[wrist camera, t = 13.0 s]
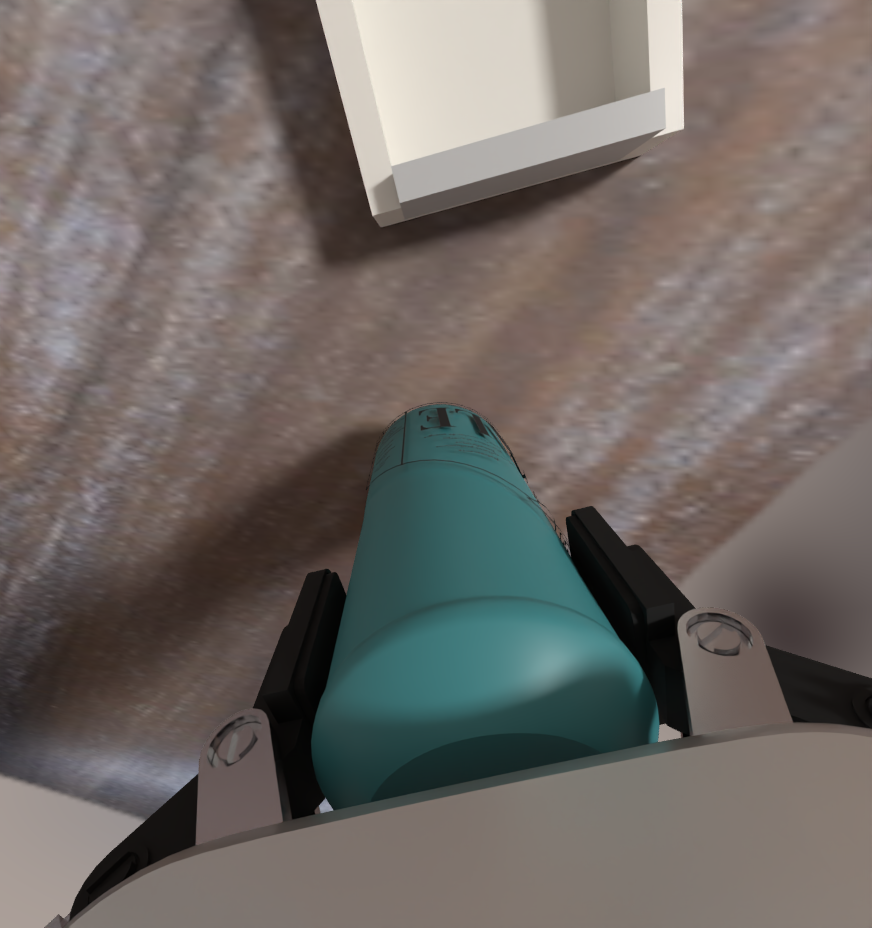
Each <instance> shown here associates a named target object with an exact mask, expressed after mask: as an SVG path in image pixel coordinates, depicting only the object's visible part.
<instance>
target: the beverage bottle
mask: <svg viewBox="0 0 872 928" xmlns="http://www.w3.org/2000/svg"><path fill="white" fill-rule="evenodd" d="M437 403H442V402H437ZM429 404H432V403H429ZM451 404H454V403H451ZM424 405H426V404H424ZM457 405H458V404H457ZM420 406H422V405H420ZM461 406H462V405H461ZM417 407H418V406H417ZM415 408H416V407H415ZM467 408H468V407H467ZM412 409H413V408H412ZM470 409H471V408H470ZM472 410H473V409H472ZM408 411H409V410H408ZM474 411H475V410H474ZM476 412H477V411H476ZM404 413H405V415H403V416H402V417H401V418H399V419H398V420H397V421H394V420H395V419H394V420H393V421H394V424H391V427H390V428H389V427H388V428H389V429H388V430H386V431H387V432H386V431H385V432H386V433H385V435H384V436H383V438H381V439H382V440H381V442H380V441H379V442H380V444H379V447H378V450H377V452H376V453H375V454H376V458H375V457H374V458H375V463H374V467H373V472H372V477H371V482H370V485H369V486H370V487H369V486H368V487H369V492H368V497H367V501H366V506H365V513H364V520H363V525H362V529H361V534H360V538H359V543H358V547H357V551H356V556H355V560H354V565H353V569H352V574H351V578H350V583H349V587H348V591H347V596H346V600H345V605H344V609H343V614H342V618H341V623H340V627H339V631H338V636H337V640H336V645H335V649H334V654H333V658H332V663H331V667H330V672H329V676H328V680H327V685H326V689H325V691H324V693H323V695H322V697H321V699H320V703H319V706H318V709H317V712H316V716H315V721H314V725H313V732H312V739H311V749H312V761H313V766H314V771H315V775H316V779H317V781H318V784H319V786H320V788H321V790H322V792H323V794H324V796H325V797H326V799H327V801H328V802H329V804H330V805H331V807H332V808H333V810H339V809H343V808H348V807H352V806H357V805H362V804H366V803H371V802H375V801H380V800H384V799H389V798H394V797H398V796H403V795H407V794H412V793H417V792H422V791H426V790H431V789H436V788H440V787H445V786H450V785H454V784H459V783H464V782H469V781H473V780H478V779H483V778H487V777H492V776H497V775H502V774H506V773H511V772H516V771H521V770H525V769H530V768H535V767H540V766H545V765H549V764H554V763H559V762H564V761H569V760H574V759H579V758H584V757H588V756H593V755H598V754H603V753H608V752H613V751H618V750H623V749H627V748H632V747H637V746H642V745H647V744H652V743H657V742H658V735H659V715H658V708H657V703H656V699H655V695H654V692H653V689H652V686H651V684H650V682H649V680H648V678H647V677H646V675H645V673H644V671H643V669H642V668H641V666H640V664H639V662H638V661H637V660H636V658H635V657H634V656H633V655H632V653H631V652H630V651H629V649H628V648H627V647H626V646H625V645H624V643H623V642H622V641H621V640H620V639H619V637H618V636H617V634H616V632H615V631H614V629H613V628H612V626H611V624H610V623H609V621H608V619H607V618H606V616H605V615H604V613H603V611H602V610H601V608H600V606H599V605H598V603H597V601H596V600H595V599H596V598H594V597H593V595H592V593H591V592H590V590H589V588H588V587H587V585H586V583H585V582H584V580H583V578H582V577H581V575H580V573H579V572H578V570H577V568H578V569H579V570H580V572H581V573H582V574H583V576H584V577H585V574H584V572H583V571H582V569H581V567H580V565H579V563H578V561H577V560H576V562H575V564H576V566H577V567H576V566H575V564H574V562H573V558H572V559H571V557H570V553H568V552H569V551H568V549H567V550H566V547H565V546H564V545H566V541H567V540H566V541H565V540H564V542H565V544H564V542H563V543H562V541H561V540H560V539H561V535H562V534H561V533H560V538H559V536H558V535H557V533H556V526H557V525H556V524H555V523H554V522H555V520H554V522H553V521H552V522H553V523H554V524H555V530H554V528H553V527H552V525H551V523H550V522H549V520H548V518H547V517H546V515H547V514H546V513H545V512H544V511H543V510H542V509H541V507H540V505H539V503H540V502H539V501H538V500H536V499H535V495H533V494H532V492H531V491H530V489H529V487H528V486H527V484H526V482H525V481H524V479H523V478H526V476H525V474H524V475H522V474H521V472H520V470H519V467H518V465H517V463H516V461H515V459H514V457H513V456H514V455H513V454H512V452H511V450H509V449H510V448H509V447H507V446H508V445H506V444H505V443H506V442H504V441H503V439H502V437H501V436H500V435H499V434H498V433H497V431H498V430H497V431H496V430H495V429H494V427H493V426H492V425H491V424H489V423H488V422H487V421H485V420H484V419H482V418H481V417H480V416H481V415H482V414H481V415H480V416H478V415H479V414H478V415H477V413H476V414H475V413H473V412H471V410H467V409H466V408H462V407H458V406H454V405H446V404H436V405H428V406H424V407H420V408H417V409H415V410H412V411H410V412H409V413H407V411H406V412H404ZM402 414H403V413H402ZM402 414H401V415H402ZM398 417H399V416H398ZM482 417H483V416H482ZM485 418H486V417H485ZM486 420H487V419H486ZM393 421H392V422H393ZM392 422H391V423H392ZM386 428H387V427H386ZM495 428H496V427H495ZM494 431H495V432H494ZM382 433H383V432H382ZM383 434H384V433H383ZM496 434H497V435H498V436H499V438H500V439H501V440H502V442H503V443H504V444H505V446H506V448H508V450H509V451H510V453H511V457H512V458H513V460H514V462H515V464H516V466H517V468H516V466H515V464H514V463H513V461H512V459H511V458H510V456H509V455H508V453H507V451H506V450H505V448H504V446H503V445H502V443H501V441H500V440H499V438H498V437H497V435H496ZM377 442H378V441H377ZM376 447H377V445H376ZM375 451H376V449H375ZM510 453H509V454H510ZM375 454H374V455H375ZM374 458H373V459H374ZM372 463H373V462H372ZM371 467H372V466H371ZM370 472H371V471H370ZM523 472H524V471H523ZM369 476H370V475H369ZM368 480H369V479H368ZM526 480H527V479H526ZM527 483H528V482H527ZM367 484H368V483H367ZM366 490H367V487H366ZM533 493H534V491H533ZM534 494H535V493H534ZM536 498H537V497H536ZM540 504H541V503H540ZM542 505H543V504H542ZM543 506H544V505H543ZM544 507H545V506H544ZM549 512H550V511H549ZM550 513H551V512H550ZM545 514H546V515H545ZM547 516H548V515H547ZM548 517H549V516H548ZM549 518H550V517H549ZM557 527H558V526H557ZM558 528H559V527H558ZM560 531H561V530H560ZM561 532H562V531H561ZM563 535H564V534H563ZM562 537H563V536H562ZM563 539H564V538H563ZM566 539H567V538H566ZM567 542H569V541H567ZM569 543H570V542H569ZM567 545H569V544H567ZM571 546H572V545H571ZM568 547H569V546H568ZM569 549H570V548H569ZM570 552H571V550H570ZM573 555H574V554H573ZM571 556H572V554H571ZM574 558H575V556H574ZM575 559H576V558H575ZM577 563H578V564H577ZM578 565H579V567H580V568H579V567H578ZM584 570H585V569H584ZM585 572H586V571H585ZM585 579H586V577H585ZM588 579H589V578H588ZM589 581H590V580H589ZM590 584H591V583H590ZM591 587H592V586H591ZM592 590H593V589H592ZM593 593H594V592H593ZM594 596H595V595H594Z"/></svg>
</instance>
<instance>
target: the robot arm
mask: <svg viewBox="0 0 872 928" xmlns="http://www.w3.org/2000/svg"><path fill="white" fill-rule="evenodd" d="M571 515H572V516H569V517H566V525H567V532H568V539H569V542H570V543H569V546H570V550H571V552H570V553H571V554H572V556H571V559H572V558H573V562H574V564H575V562H576V560H577V561H578V563H579V565H580V567H581V569H582V571H583V572H584V574H585V577H586V579H585V577H584V576H583V574H582V573H581V572H580V570H579V569H578V568H577V570H578V572H579V573H580V575H581V577H582V578H583V580H584V582H585V583H586V585H587V587H588V588H589V590H590V592H591V593H592V595H593V597H594V598H596V599H595V600H596V601H597V603H598V605H599V606H600V608H601V610H602V611H603V613H604V615H605V616H606V618H607V619H608V621H609V623H610V624H611V626H612V628H613V629H614V631H615V632H616V634H617V636H618V637H619V639H620V640H621V641H622V642H623V643H624V645H625V646H626V647H627V648H628V649H629V651H630V652H631V653H632V655H633V656H634V657H635V658H636V660H637V661H638V662H639V664H640V666H641V668H642V669H643V671H644V673H645V675H646V677H647V678H648V680H649V682H650V684H651V686H652V689H653V692H654V695H655V699H656V703H657V708H658V715H659V725H661V724H667V726H669V727H671V728H673V729H675V730H677V731H680V732H681V738H679V739H673V740H668V741H662V742H657V743H652V744H647V745H642V746H637V747H632V748H627V749H623V750H618V751H613V752H608V753H603V754H598V755H593V756H588V757H584V758H579V759H574V760H569V761H564V762H559V763H554V764H549V765H545V766H540V767H535V768H530V769H525V770H521V771H516V772H511V773H506V774H502V775H497V776H492V777H487V778H483V779H478V780H473V781H469V782H464V783H459V784H454V785H450V786H445V787H440V788H436V789H431V790H426V791H422V792H417V793H412V794H407V795H403V796H398V797H394V798H389V799H384V800H380V801H375V802H371V803H366V804H362V805H357V806H352V807H348V808H343V809H339V810H334V811H329V812H325V813H320V809H319V805H320V804H321V803H322V801H323V800H324V799H325V796H324V794H323V792H322V790H321V788H320V786H319V784H318V781H317V779H316V775H315V771H314V766H313V761H312V749H311V739H312V732H313V725H314V721H315V716H316V712H317V709H318V706H319V703H320V699H321V697H322V695H323V693H324V691H325V689H326V685H327V680H328V676H329V672H330V667H331V663H332V658H333V654H334V649H335V645H336V640H337V636H338V631H339V627H340V623H341V618H342V614H343V609H344V605H345V600H346V593H345V591H344V588H343V586H342V583H341V581H340V579H339V576H338V574H337V573H336V572H333V573H331V571H330V570H329V569H324V570H320V571H316V572H311V573H308V574H307V576H306V579H305V582H304V584H303V587H302V590H301V592H300V595H299V598H298V600H297V603H296V606H295V608H294V611H293V614H292V616H291V619H290V622H289V624H288V625H287V626H286V627H285V628H284V629H283V631H282V633H281V636H280V639H279V641H278V644H277V646H276V649H275V652H274V654H273V657H272V659H271V662H270V665H269V667H268V670H267V673H266V675H265V678H264V680H263V683H262V686H261V688H260V691H259V693H258V696H257V699H256V701H255V704H254V706H253V708H252V709H247V710H243V711H240V712H238V713H236V714H234V715H232V716H231V717H229V718H228V719H226V720H225V721H223V722H222V723H221V724H220V725H219V726H218V727H217V728H216V729H215V730H214V731H213V732H212V734H211V735H210V736H209V738H208V739H207V740H206V742H205V744H204V746H203V748H202V750H201V754H200V759H199V774H197V775H196V776H195V777H194V778H193V779H192V780H191V781H190V782H188V783H187V784H186V785H185V786H184V787H183V788H182V789H181V790H179V791H178V792H177V793H176V794H175V795H174V796H173V797H172V798H171V799H169V800H168V801H167V802H166V803H165V804H164V805H163V806H162V807H160V808H159V809H158V810H157V811H156V812H155V813H154V814H153V815H151V816H150V817H149V818H148V819H147V820H146V821H145V822H144V823H143V824H141V825H140V826H139V827H138V828H137V829H136V830H135V831H134V832H132V833H131V834H130V835H129V836H128V837H127V838H126V839H125V840H124V841H122V842H121V843H120V844H119V845H118V846H117V847H116V848H114V849H113V850H112V851H111V852H110V853H109V854H108V855H107V856H106V857H105V858H104V859H103V860H102V861H101V862H100V863H99V864H98V865H97V866H96V867H95V869H94V870H93V871H92V873H91V874H90V875H89V877H88V878H87V879H86V881H85V882H84V884H83V885H82V887H81V889H80V891H79V893H78V894H77V896H76V898H75V901H74V903H73V906H72V909H71V912H70V913H69V914H68V915H67V916H66V917H65V918H62V917H61V916H60V915H59V914H58V915H57V916H56V917H55V918H54V919H53V920H52V921H51V922H50V923H49V924H48V925H47V926H46V927H44V928H872V678H869V677H865V676H862V675H859V674H856V673H853V672H849V671H846V670H843V669H840V668H837V667H833V666H830V665H827V664H824V663H820V662H817V661H814V660H811V659H808V658H805V657H801V656H798V655H795V654H792V653H789V652H785V651H782V650H779V649H776V648H772V647H769V646H766V645H765V644H764V641H763V638H762V636H761V634H760V633H759V631H758V629H757V628H756V627H755V626H754V625H753V624H752V623H751V622H750V621H748V620H747V619H745V618H743V617H742V616H740V615H738V614H736V613H733V612H730V611H728V610H725V609H719V608H713V607H707V608H706V607H705V608H697V609H696V608H695V607H694V606H693V605H692V604H691V603H690V602H689V600H688V599H687V598H686V597H685V596H684V595H683V594H682V593H681V591H680V590H679V589H678V588H677V587H676V586H675V585H674V584H673V583H672V581H671V580H670V579H669V578H668V577H667V576H666V575H665V574H664V572H663V571H662V570H661V569H660V568H659V567H658V566H657V565H656V564H655V562H654V561H653V560H652V559H651V558H650V557H649V556H648V555H647V553H646V552H645V551H644V550H643V549H642V548H641V547H640V546H639V545H631V546H626V545H625V544H624V542H623V541H622V540H621V539H620V538H619V537H618V535H617V534H616V533H615V532H614V531H613V529H612V528H611V527H610V526H609V525H608V523H607V522H606V521H605V520H604V519H603V518H602V516H601V515H600V514H599V513H598V512H597V510H596V509H595V508H594V507H593V506H589V507H585V508H581V509H577V510H572V514H571ZM571 545H572V546H571ZM573 554H574V555H573ZM574 556H575V558H576V559H575V558H574ZM578 563H577V564H578ZM579 565H578V567H579ZM575 566H576V564H575ZM576 567H577V566H576ZM580 567H579V568H580ZM584 569H585V570H584ZM585 571H586V572H585ZM588 578H589V579H588ZM589 580H590V581H589ZM590 583H591V584H590ZM591 586H592V587H591ZM592 589H593V590H592ZM593 592H594V593H593ZM594 595H595V596H594Z"/></svg>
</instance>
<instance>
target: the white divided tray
mask: <svg viewBox="0 0 872 928" xmlns="http://www.w3.org/2000/svg"><path fill="white" fill-rule="evenodd" d="M316 3H317V7H318V10H319V14H320V18H321V22H322V26H323V29H324V33H325V37H326V41H327V45H328V48H329V52H330V56H331V60H332V64H333V67H334V71H335V75H336V79H337V83H338V86H339V90H340V94H341V98H342V102H343V106H344V109H345V113H346V117H347V121H348V125H349V128H350V132H351V136H352V140H353V144H354V147H355V151H356V155H357V159H358V163H359V166H360V170H361V174H362V178H363V182H364V185H365V189H366V193H367V197H368V201H369V205H370V208H371V212H372V216H373V217H374V219H375V220H376V222H377V223H378V224H379V226H380V227H385V226H389V225H392V224H396V223H399V222H403V221H407V220H410V219H414V218H417V217H421V216H425V215H428V214H432V213H435V212H439V211H443V210H446V209H450V208H453V207H457V206H461V205H464V204H468V203H471V202H475V201H479V200H482V199H486V198H489V197H493V196H497V195H500V194H504V193H507V192H511V191H515V190H518V189H522V188H526V187H529V186H533V185H536V184H540V183H544V182H547V181H551V180H554V179H558V178H562V177H565V176H569V175H572V174H576V173H580V172H583V171H587V170H590V169H594V168H598V167H601V166H605V165H608V164H612V163H616V162H619V161H623V160H626V159H630V158H634V157H637V156H641V155H643V154H645V153H646V152H648V151H649V150H651V149H652V148H654V147H656V146H657V145H659V144H660V143H662V142H664V141H665V140H667V139H668V138H670V137H672V136H673V135H675V134H676V133H678V132H679V131H681V130H683V129H684V108H683V39H682V0H316Z"/></svg>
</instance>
